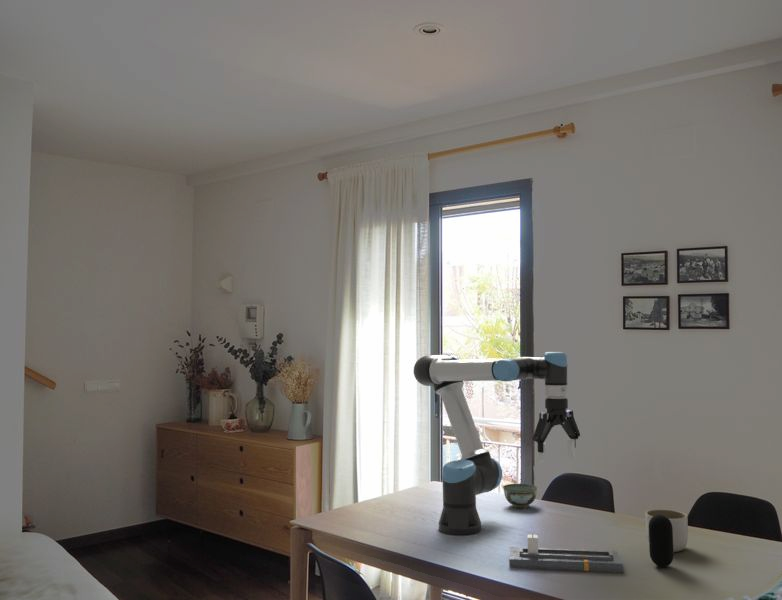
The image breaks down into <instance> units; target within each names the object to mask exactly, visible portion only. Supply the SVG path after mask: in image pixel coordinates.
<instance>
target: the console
mask: <svg viewBox="0 0 782 600" xmlns="http://www.w3.org/2000/svg"><path fill="white" fill-rule="evenodd" d="M508 554H509V558H508V559H509V560H508V561H509V563H508V565H509V566H508V567H509V569H530V570H532V569H533V570H550V571H551V570H552V571H553V570H555V571H574V572H600V573H619V574H621V573H624V572H623V570H624V569H623V561H622V560H621V556H620V555H619V553H618V551H617V550H602V549H600V550H599V549H584V548H583V549H582V548H581V549H572V548H571V549H570V548H546V547H543V548H542V547H538V553H528V547H524V546H523V547H522V546H520V547H519V546H510V547H509V553H508Z"/></svg>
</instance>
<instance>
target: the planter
mask: <svg viewBox="0 0 782 600" xmlns="http://www.w3.org/2000/svg"><path fill="white" fill-rule="evenodd" d="M658 514H661V515H664V516H666V517H667V518H668V519H669V520H670V521H671V523H672V527H673V552H674V553H678V552H682V551H683V550H684V549H685V548H686V546H687V545H688V539H689V527H688V526H689V525H688V514H687V513H686V512H683V511H680V510H675V509H666V508H665V509H664V508H662V509H661V508H658V509H657V508H655V509H649V510H647V511H645V531H646V538H647V542H648V543H649V521H650V519H651V518H652V517H653V516H655V515H658Z"/></svg>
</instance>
